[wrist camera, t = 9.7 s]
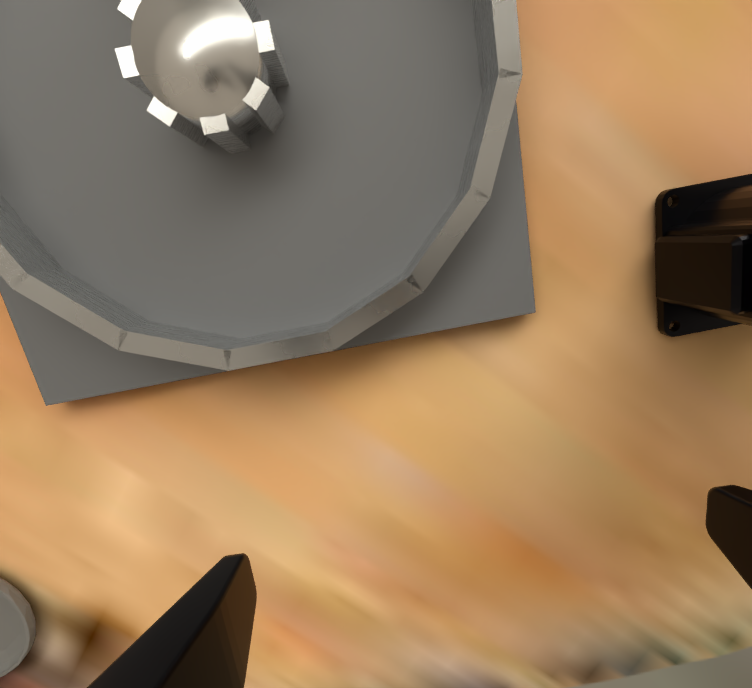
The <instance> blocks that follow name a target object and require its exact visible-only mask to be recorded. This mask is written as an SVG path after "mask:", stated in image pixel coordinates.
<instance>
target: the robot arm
mask: <svg viewBox="0 0 752 688" xmlns="http://www.w3.org/2000/svg"><path fill="white" fill-rule="evenodd" d="M669 197H671V198H672V204H671V206H668V203H667V201H668V198H669ZM655 215H656V243H655V270H656V297H657V312H658V329H659V331H660V332H661V333H662V334H664V335H667V336H670V337H675V336H680V335H686V334H691V333H696V332H701V331H707V330H712V329H717V328H722V327H728V326H733V325H738V324H747V325H751V326H752V174H748V175H743V176H737V177H732V178H727V179H722V180H716V181H711V182H706V183H701V184H695V185H690V186H685V187H679V188H674V189H669V190H665V191H663V192H661V193H660V194H659V195H658V197H657V199H656V203H655ZM671 322H674V325H673V327H672V328H671V329H669V325H670V323H671ZM706 529H707V531H708V534H709V535H710V537H711V539H712V540H713V541H714V543H715V544H716V545H717V546H718V548H719V549H720V550H721V551H722V553H723V554H724V555H725V556H726V558H727V559H728V560H729V561H730V563H731V564H732V565H733V566H734V568H735V569H736V570H737V571H738V573H739V574H740V575H741V576H742V578H743V579H744V580H745V582H746V583H747V584H748V585H749V587H750V588H751V589H752V490H749V489H746V488H743V487H740V486H736V485H727V486H720V487H714V488H712V489H710V491H709V492H708V496H707V510H706ZM256 599H257V593H256V586H255V582H254V578H253V573H252V569H251V565H250V561H249V558H248V556H247V555H246V554H244V553H242V554H235V555H228V556H225V557H223V558H222V559H221V560H220V561H219V562H218V563H217V564H216V565H215V566H214V567H213V568H212V569H210V570H209V571H208V572H207V573H206V574H205V575H204V576H203V577H202V578H201V579H200V580H199V581H198V582H197V583H196V584H195V585H194V586H193V587H192V588H191V589H190V590H189V591H187V592H186V593H185V594H184V595H183V596H182V597H181V598H180V599H179V600H178V601H177V602H176V603H175V604H174V605H173V606H172V607H171V608H170V609H169V610H168V611H167V612H165V613H164V614H163V615H162V616H161V617H160V618H159V619H158V620H157V621H156V622H155V623H154V624H153V625H152V626H151V627H150V628H149V629H148V630H147V631H146V632H145V633H144V634H142V635H141V636H140V637H139V638H138V639H137V640H136V641H135V642H134V643H133V644H132V645H131V646H130V647H129V648H128V649H127V650H126V651H125V652H124V653H123V654H122V655H120V656H119V657H118V658H117V659H116V660H115V661H114V662H113V663H112V664H111V665H110V666H109V667H108V668H107V669H106V670H105V671H104V672H103V673H102V674H101V675H100V676H99V677H97V678H96V679H95V680H94V681H93V682H92V683H91V684H90V685H89V686H88V687H87V688H244V683H245V677H246V670H247V663H248V656H249V650H250V643H251V636H252V629H253V622H254V615H255V608H256Z"/></svg>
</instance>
